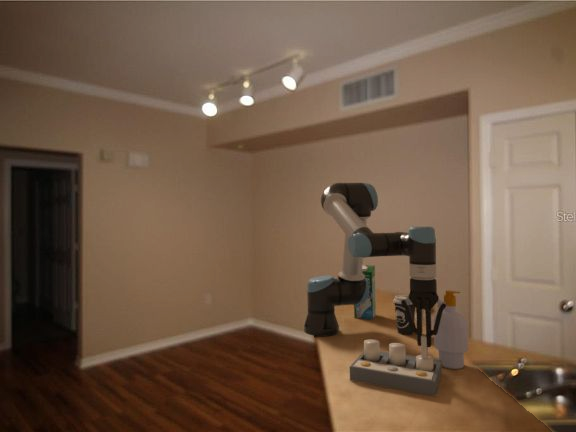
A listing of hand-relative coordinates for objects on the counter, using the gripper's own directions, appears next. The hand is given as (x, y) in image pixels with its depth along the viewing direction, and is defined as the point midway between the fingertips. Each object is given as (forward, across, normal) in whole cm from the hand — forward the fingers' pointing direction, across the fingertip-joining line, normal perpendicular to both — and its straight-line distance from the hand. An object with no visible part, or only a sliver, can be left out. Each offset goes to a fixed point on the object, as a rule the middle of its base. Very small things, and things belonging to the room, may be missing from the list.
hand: (424, 357), depth 111 cm
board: (+7, -8, -1) cm, 11 cm away
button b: (+4, -8, 0) cm, 9 cm away
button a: (+4, -16, 0) cm, 16 cm away
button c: (+6, 0, 0) cm, 6 cm away
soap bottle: (+7, +6, +15) cm, 18 cm away
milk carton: (+7, -37, +64) cm, 74 cm away
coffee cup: (+7, -14, +45) cm, 48 cm away
